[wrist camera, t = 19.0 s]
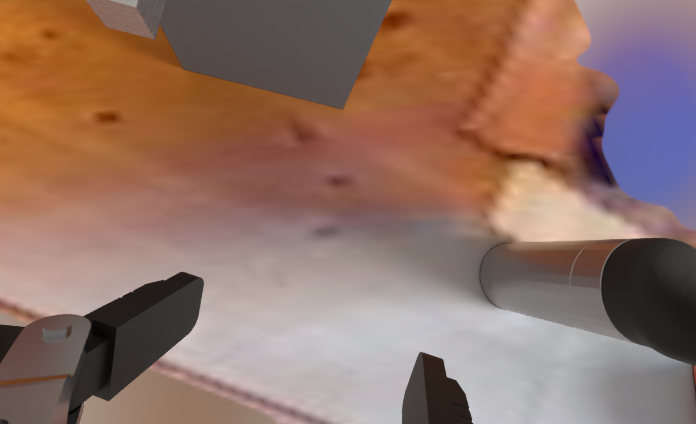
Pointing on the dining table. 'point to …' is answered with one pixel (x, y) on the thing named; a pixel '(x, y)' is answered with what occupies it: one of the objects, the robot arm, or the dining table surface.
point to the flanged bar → (130, 15)
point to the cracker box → (694, 373)
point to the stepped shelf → (277, 43)
